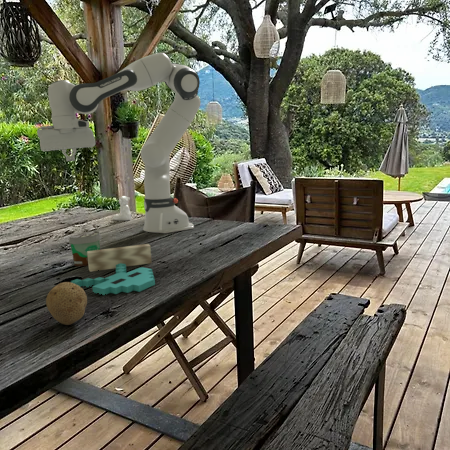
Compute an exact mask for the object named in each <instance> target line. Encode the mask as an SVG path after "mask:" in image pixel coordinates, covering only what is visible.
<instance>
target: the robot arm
mask: <svg viewBox="0 0 450 450" xmlns="http://www.w3.org/2000/svg"><path fill="white" fill-rule="evenodd" d="M200 82H201V81H200V76H199V75H198V73H197V72H196V70H194V69H192V68H191V67H189V66H187V65H184V64H180V63H176V62H172V61H171V58H170V57H169V56H168V55H167V54H166V53H164V52H157V53H153V54H149V55H147V56H144V57H141V58H139V59H137V60H134V61H133V62H131V63H130V64H128V65H127V66H126V67H124V68H122V69H121V70H120V71H118V72H117V73H115V74H113V75H111V76H108V77H106V78H104V79H101V80H99V81H96V82H93V83H91V82H90V83H79V84H74V83H72V82H70V81H69V80H66V79H61V80H56V81H53V82H51V83H50V85H49V86H48V91H47V94H48V102H49V104H48V105H49V108H50V110H51V121H52V125H42V126H40V127H38V129H36V130H37V131H36V133H37V137H38V138H39V145H40V150H41V151H42V152H50V151H52V152H53V151H61V152H62V154H63V155H64V157H65V160H66V162H73V161H75V160H76V158H75V156H76V153H77V149H82V148H93V147H95V145H96V139H95V138H96V137H95V135H94V132H93V130H92V129H91V128H90V122H89V121H87V120H83V119H78V118H77V115H76V114H82V115H90V114H93V113H94V112H96V111H97V109H98V107H99V104H100V103H101V102H102V101H104V100H105V99H107V98H109V97H111V96H114V95H116V94H119V93H120V92H124V91H132V92H140V91H143V90H146V89H149V88H151V87H154V86H155V85H158V84H159V83H164V84H165V85H166V86H167V87H168V88H169V89H170V90H171V91H173V92H174V93H175V94H174V95H175V96H174V100H173V102H172V103H171V105H170V106H169V108H168V109H167V110H166V112H165V114H164V115H163V117H162V118H161V120H160V121H159V123H158V124H157V126H156V127H155V128H154V130H153V131H152V133H151V134H150V136H149V137H148V139H147V140H146V142H144V144H143V146H142V147H141V150H140V158H141V160H142V162H143V163H144V176H143V182H144V183H143V184H144V199H143V200H144V202H143V204H144V205H143V206H144V211H145V213H144V215H145V217H144V222H143V223H144V224H143V227H142V229H143V231H144V232H147V233H148V232H149V233H160V234H168V233H175V232H180V231H186V230H191V229H194V228H195V224H193V223H192V222H190V221H189V217H188V214H187V213H186V212H185V211H184V210H183V209H181V208H179V206H176V205H175V204H178V203H179V200H178V198H176V197H175V198H174V197H173V196H172V197H171V182H170V179H171V177H170V176H171V175H170V172H171V171H170V170H171V169H170V168H171V166H170V164H171V162H170V161H171V160H170V159H171V157H170V156H171V154H172V152H173V150H174V149H175V147H176V146H177V145H178V144H179V142H180V141H181V139H182V138H183V136H184V135H185V133H186V131H187V130H188V128H190V127H189V126H190V125H191V123H192V122H193V121H194V119H195V117H196V115H197V113H198V111H199V109H200V106H201V99H200V97H199V96H198V94H199V88H200ZM70 149H71V151H72V152H73V153H72V155H68V154H67V150H70Z"/></svg>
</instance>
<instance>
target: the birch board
mask: <svg viewBox="0 0 450 450" xmlns="http://www.w3.org/2000/svg"><path fill="white" fill-rule="evenodd" d="M151 248H152V247H151V245H150V244H149V243H144V244H143V243H142V244H134V245H128V246H127V245H126V246H120V247H112V248H104V249H103V248H102V249H100V250H94V251H87V255H88V266H87V267H88V271H89V272H97V271H98V270H99V271H106V270H111V269H113V270H114V269H116V265H117V264H120V263H123V264H126V268H127V267H132V266H133V267H134V266H139V265H147V264H152V251H151ZM99 271H98V272H99Z"/></svg>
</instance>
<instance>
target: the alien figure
mask: <svg viewBox="0 0 450 450" xmlns="http://www.w3.org/2000/svg"><path fill="white" fill-rule="evenodd" d="M155 280H156V279H155V276H154V272H153V269H152V268H147V267H142V266H141V267H138V268H135V269H133V270H131V271H128V272H127V267H126V264H123V263H120V264H117V265H116V268H115V273H114V274H112V275H109V276H106V277H105V278H104V277H101V276H99V277H96V278H90V277H87V278H85V279H79V278H76V279H72V280H70V282H71V283H74V284H76V285H78V286H80V287H81V286H82V287H84V286H86V287H85V288H90V287H92V293H93V292H94V293H93V294H97V293H99V294H98V295H101V294H102V296H106V295H108V294H114V295H117V294H120V293H122V292H123V293H127V294H128V293H131V292H139V293H140V292H142V291H144V290H146V289H148V288H150V287H153V286H156V281H155ZM92 285H93V286H92ZM89 286H90V287H89ZM82 287H81V288H82ZM105 294H106V295H105Z"/></svg>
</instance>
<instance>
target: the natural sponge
mask: <svg viewBox="0 0 450 450" xmlns="http://www.w3.org/2000/svg"><path fill="white" fill-rule="evenodd" d="M45 304H46V308H47V310H48V311H49V313H50V314H51V316H52V318H53V319H54V320H56V321H57V322H58V323H60V324H61V325H64V326H65V325H66V326H69V325H70V326H71V325H72V324H75V323H76V322H78V321H79V320H81V319H82V318H83V316H84V314H85V311H86V308H87V304H88V296H87V294H86V292H85V290H84V288H83V287H80V286H78V285H76V284H74V283H71V281H64V282H59V283H58V284H56V285H55V286H54V287H52V288H51V289H50V290H49V292H48V293H47V295H46V298H45Z"/></svg>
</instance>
